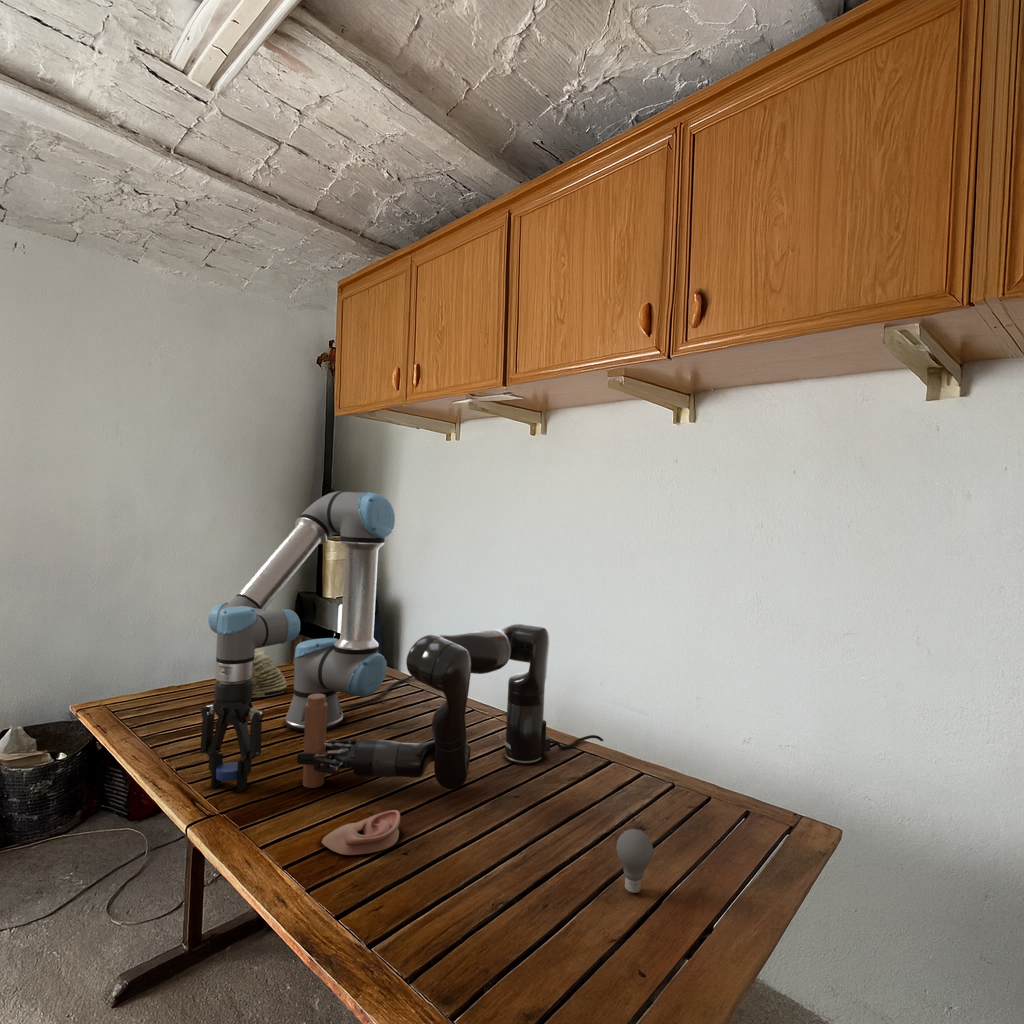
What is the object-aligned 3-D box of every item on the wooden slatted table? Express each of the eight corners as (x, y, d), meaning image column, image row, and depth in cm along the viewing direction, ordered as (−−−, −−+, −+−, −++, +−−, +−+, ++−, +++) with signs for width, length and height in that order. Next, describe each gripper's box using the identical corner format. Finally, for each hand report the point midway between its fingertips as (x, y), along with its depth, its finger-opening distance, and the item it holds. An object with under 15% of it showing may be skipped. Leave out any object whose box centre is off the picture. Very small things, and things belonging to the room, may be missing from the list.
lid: (211, 775, 136) (211, 766, 136) (234, 768, 140) (235, 759, 140) (223, 783, 132) (223, 774, 132) (247, 776, 136) (247, 767, 136)
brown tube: (298, 783, 140) (301, 695, 139) (317, 776, 143) (320, 691, 143) (309, 790, 137) (313, 700, 136) (328, 783, 140) (331, 696, 140)
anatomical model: (313, 828, 113) (343, 799, 125) (313, 850, 113) (342, 819, 125) (383, 839, 111) (407, 808, 122) (382, 862, 111) (406, 829, 122)
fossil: (218, 695, 195) (220, 647, 195) (278, 685, 208) (279, 640, 207) (228, 703, 189) (230, 653, 188) (289, 692, 201) (290, 645, 201)
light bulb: (610, 879, 108) (613, 822, 108) (644, 879, 109) (647, 822, 109) (619, 902, 102) (622, 840, 102) (655, 901, 103) (658, 840, 103)
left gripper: (183, 680, 134) (178, 789, 134) (264, 688, 131) (258, 800, 131) (206, 671, 141) (201, 775, 141) (282, 679, 138) (277, 785, 139)
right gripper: (387, 729, 146) (314, 725, 147) (370, 754, 132) (290, 749, 133) (385, 761, 146) (313, 757, 147) (369, 789, 132) (288, 784, 133)
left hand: (228, 787), depth 136 cm, fingers closed on lid, 5 cm apart
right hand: (302, 753), depth 140 cm, fingers closed on brown tube, 4 cm apart
